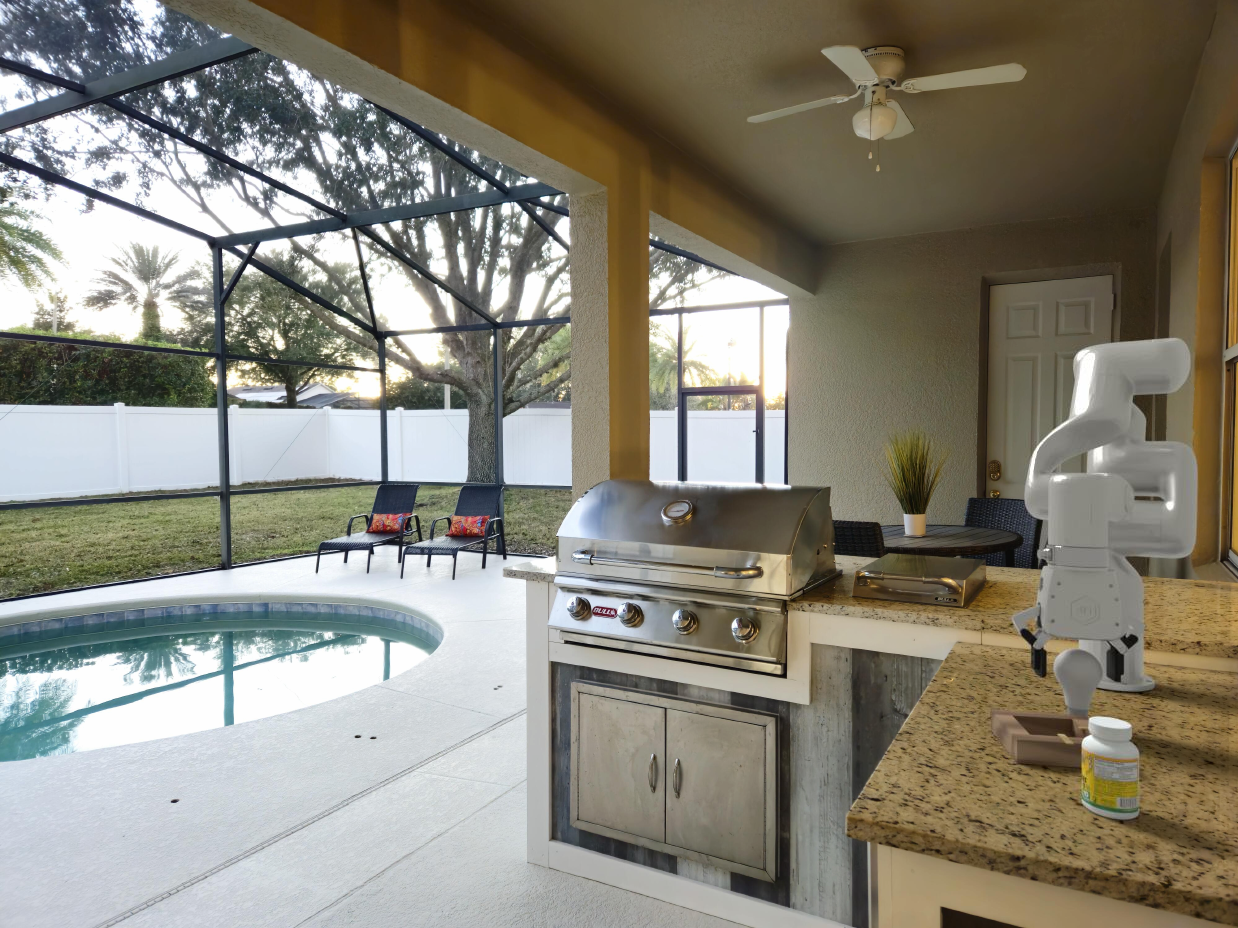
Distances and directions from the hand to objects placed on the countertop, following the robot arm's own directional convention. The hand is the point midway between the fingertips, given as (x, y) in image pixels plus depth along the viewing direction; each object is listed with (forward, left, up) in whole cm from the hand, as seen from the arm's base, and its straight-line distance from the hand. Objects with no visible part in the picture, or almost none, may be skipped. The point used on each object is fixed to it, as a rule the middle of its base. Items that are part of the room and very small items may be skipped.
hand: (1076, 677), depth 111 cm
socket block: (+10, -7, -7) cm, 14 cm away
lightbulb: (-1, 0, -7) cm, 7 cm away
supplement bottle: (+28, -7, -7) cm, 30 cm away
